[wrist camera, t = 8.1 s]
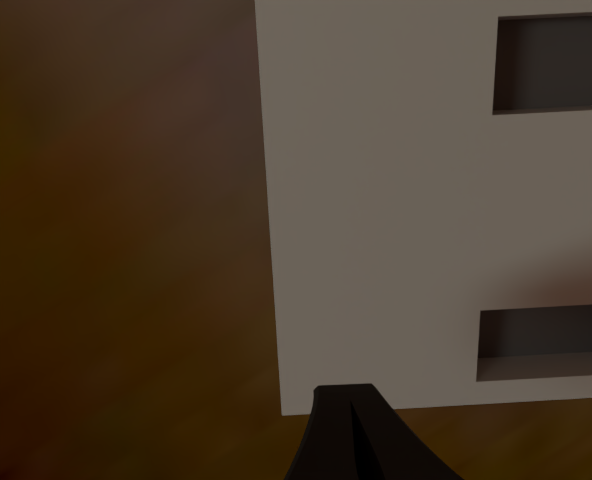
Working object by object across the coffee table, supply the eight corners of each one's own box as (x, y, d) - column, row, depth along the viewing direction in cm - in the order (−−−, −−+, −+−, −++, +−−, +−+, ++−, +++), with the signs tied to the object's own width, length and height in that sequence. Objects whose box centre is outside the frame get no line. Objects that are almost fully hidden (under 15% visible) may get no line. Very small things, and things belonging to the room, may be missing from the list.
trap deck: (772, 358, 23) (817, 384, 21) (282, 386, 23) (282, 415, 21) (868, -29, 18) (936, -41, 17) (257, 1, 18) (254, -7, 16)
